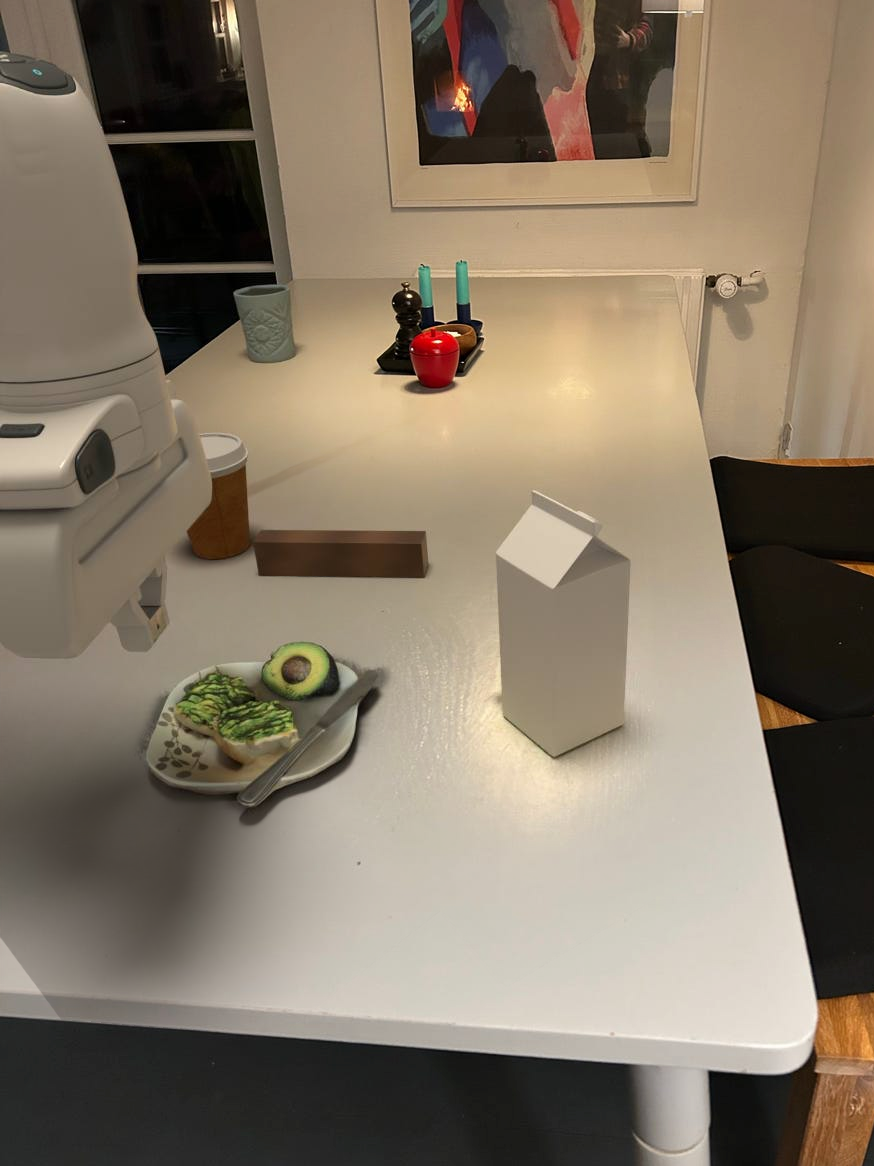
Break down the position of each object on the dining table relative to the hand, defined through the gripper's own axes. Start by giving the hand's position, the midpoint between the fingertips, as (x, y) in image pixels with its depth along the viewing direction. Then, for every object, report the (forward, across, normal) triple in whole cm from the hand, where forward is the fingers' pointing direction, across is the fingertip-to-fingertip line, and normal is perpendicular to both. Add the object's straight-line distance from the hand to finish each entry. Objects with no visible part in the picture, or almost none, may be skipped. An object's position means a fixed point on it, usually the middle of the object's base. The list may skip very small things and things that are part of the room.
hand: (147, 639), depth 57 cm
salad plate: (+18, -14, 0) cm, 23 cm away
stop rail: (+18, -42, 0) cm, 46 cm away
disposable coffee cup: (+18, -48, -16) cm, 53 cm away
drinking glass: (+18, -128, -34) cm, 133 cm away
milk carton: (+18, -17, +24) cm, 34 cm away
